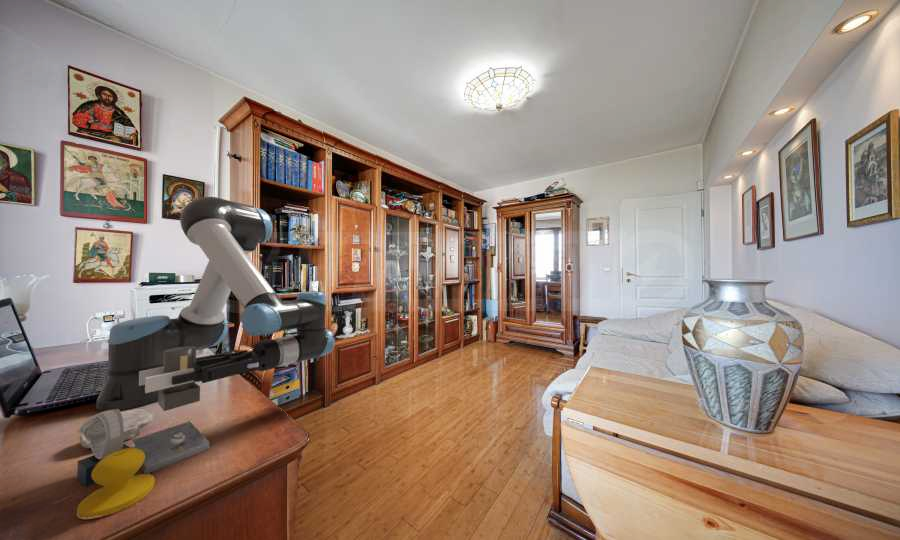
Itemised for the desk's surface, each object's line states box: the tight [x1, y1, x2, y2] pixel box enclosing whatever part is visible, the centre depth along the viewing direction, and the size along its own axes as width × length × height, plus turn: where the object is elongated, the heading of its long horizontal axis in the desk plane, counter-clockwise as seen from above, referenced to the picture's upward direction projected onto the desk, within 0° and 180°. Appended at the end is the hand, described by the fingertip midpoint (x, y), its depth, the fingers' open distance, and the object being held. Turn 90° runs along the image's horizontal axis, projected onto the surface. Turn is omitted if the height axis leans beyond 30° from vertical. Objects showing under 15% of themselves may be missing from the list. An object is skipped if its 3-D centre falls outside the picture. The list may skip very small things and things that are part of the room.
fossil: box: [79, 408, 155, 449], centre depth 60 cm, size 9×6×10 cm
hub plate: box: [131, 420, 210, 474], centre depth 57 cm, size 14×9×4 cm, turn 56°
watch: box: [76, 409, 131, 487], centre depth 50 cm, size 6×8×11 cm
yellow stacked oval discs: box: [76, 447, 156, 518], centre depth 44 cm, size 8×8×8 cm
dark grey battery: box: [157, 346, 201, 412], centre depth 56 cm, size 6×5×11 cm
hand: (142, 381), depth 52 cm, fingers closed on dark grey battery, 5 cm apart
